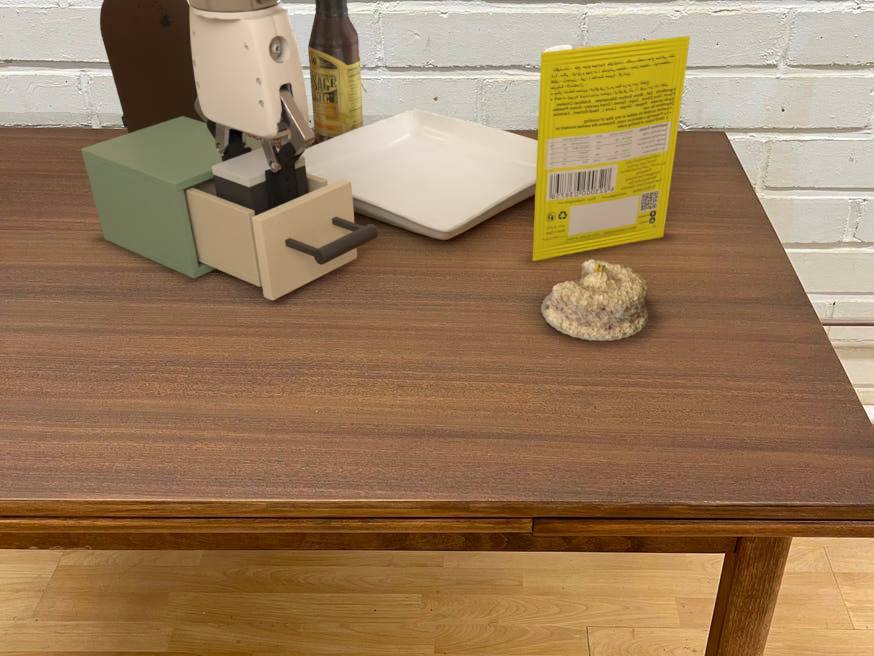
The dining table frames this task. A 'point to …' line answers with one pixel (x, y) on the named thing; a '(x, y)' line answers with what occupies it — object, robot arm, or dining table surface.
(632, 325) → the cake
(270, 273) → the drawer
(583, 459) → the dining table surface
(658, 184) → the food package
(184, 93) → the rounded brown slab
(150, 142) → the cabinet
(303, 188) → the box
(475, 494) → the dining table surface
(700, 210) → the dining table surface
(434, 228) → the square plate
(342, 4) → the sauce bottle
